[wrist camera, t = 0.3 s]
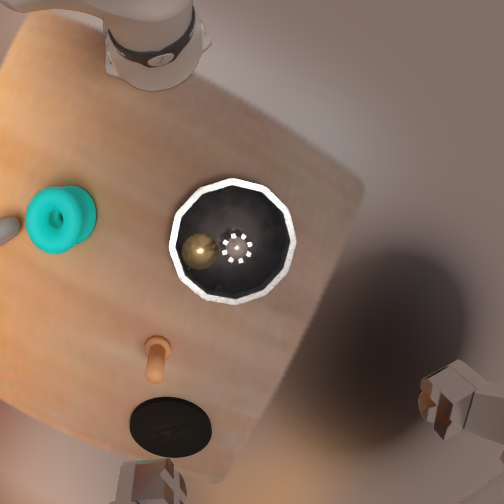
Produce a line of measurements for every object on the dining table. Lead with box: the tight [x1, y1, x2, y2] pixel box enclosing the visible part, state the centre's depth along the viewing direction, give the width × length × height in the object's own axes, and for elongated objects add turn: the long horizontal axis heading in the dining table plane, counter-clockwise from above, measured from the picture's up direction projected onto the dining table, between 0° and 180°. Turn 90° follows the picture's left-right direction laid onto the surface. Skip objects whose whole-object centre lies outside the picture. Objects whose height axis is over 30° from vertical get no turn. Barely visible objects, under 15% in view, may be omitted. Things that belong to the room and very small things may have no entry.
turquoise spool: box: [25, 185, 96, 254], centre depth 44 cm, size 10×10×10 cm
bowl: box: [169, 178, 296, 305], centre depth 52 cm, size 20×20×8 cm
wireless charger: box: [130, 397, 212, 458], centre depth 61 cm, size 18×18×2 cm
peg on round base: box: [145, 336, 171, 384], centre depth 52 cm, size 5×5×10 cm
